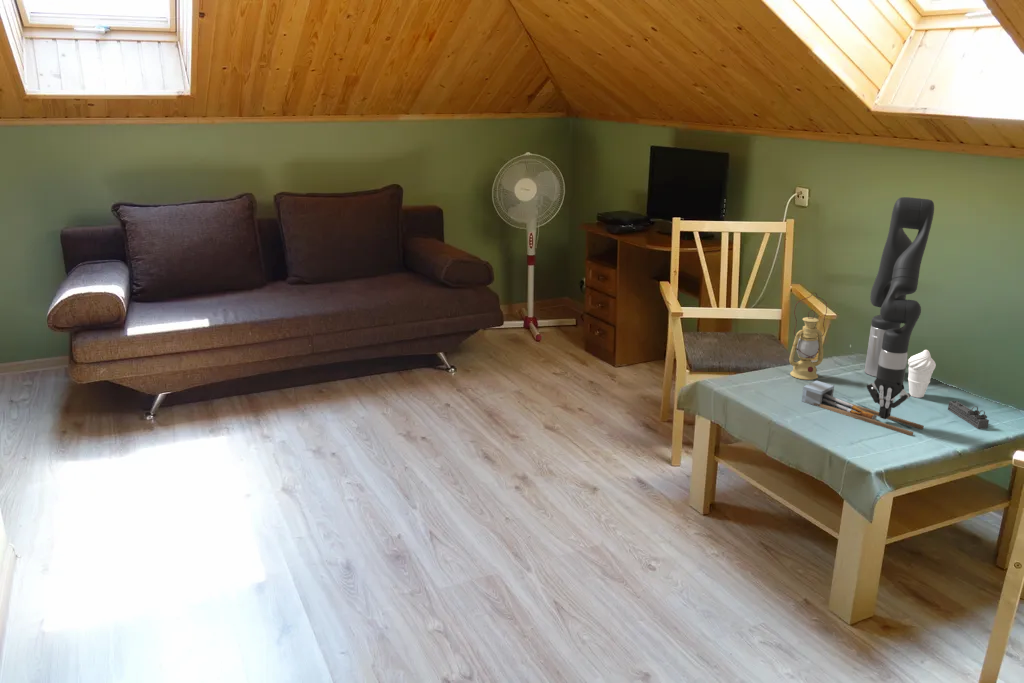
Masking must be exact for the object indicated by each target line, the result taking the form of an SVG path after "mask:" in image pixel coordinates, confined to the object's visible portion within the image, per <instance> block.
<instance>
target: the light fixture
mask: <svg viewBox="0 0 1024 683" xmlns="http://www.w3.org/2000/svg"><path fill="white" fill-rule="evenodd" d="M975 408H976V409H975ZM947 410H948V411H949V412H951V413H953V414H954V415H955V416H956V417H958V418H960V419H962V420H964V421H965V422H967V423H968V424H970V425H971V426H973V427H974V428H976V429H977V430H987V429H988V426H989V421H990V420H989V419H988V416H987V414H986V412H985V410H979V408H978V406H976V405H974V406H972V407H971V408H969V407H968V406H966V405H964V404H963V403H962V402H960V401H959V400H952V401H948V406H947ZM981 412H983V414H981Z"/></svg>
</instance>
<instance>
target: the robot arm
mask: <svg viewBox="0 0 1024 683" xmlns="http://www.w3.org/2000/svg"><path fill="white" fill-rule="evenodd" d="M934 213H935V204H934V201H933V200H932V199H928V198H920V197H919V198H918V197H917V198H916V197H910V196H903V197H899V198H897V200H896V201H895V202H894V204H893V207H892V212H891V216H890V217H891V218H890V223H889V229H888V234H887V237H886V241H885V244H884V247H883V251H882V254H881V257H880V261H879V268H878V271H877V274H876V277H875V280H874V282H873V285H872V287H871V290H870V303H871V305H872V306H874V307H876V308H880V309H879V315H875V316H873V317H872V318H871V325H870V330H869V338H868V344H867V346H868V347H867V351H866V359H865V365H864V373H865V374H867V375H869V376H871V377H872V376H873V377H876V379H874V382H872V383H871V382H870V383H869V384H867V385H866V389H867V391H868V393H869V394H870V396H871V399H872V400H873V402H874V403H875V404H878V406H879V411H878V412H879V416H878V417H880V419H883V420H888V419H887V418H888V417H890V416H891V413H892V409H895V408H896V407H898V406H900V405H901V404H902V403H904V402H905V401H907V400H908V399H909V398H910V397H912V396H911V395H910V394H909V392H906V390H905V385H904V381H905V375H906V371H907V370H906V368H907V365H908V351H909V344H910V339H911V335H912V332H913V331H914V330H913V329H914V328H915V326H916V324H917V322H918V321H919V319H920V317H921V313H922V307H921V303H919V301H918V300H915V299H907V295H911V294H915V293H916V292H917V290H918V284H919V278H920V270H921V265H922V262H923V261H922V260H923V256H924V253H925V249H926V247H927V244H928V240H929V236H930V233H931V231H930V230H931V228H932V224H933V220H934V219H933V218H934V215H935V214H934ZM904 229H909V230H910V229H911V230H917V234H916V237H915V238H914V240H913V241H912V240H911V238H909V235H907V234H906V232H905V231H904ZM901 324H904V325H903V326H901ZM898 395H899V399H897V400H896V397H897V396H898ZM895 400H896V401H895Z"/></svg>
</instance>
